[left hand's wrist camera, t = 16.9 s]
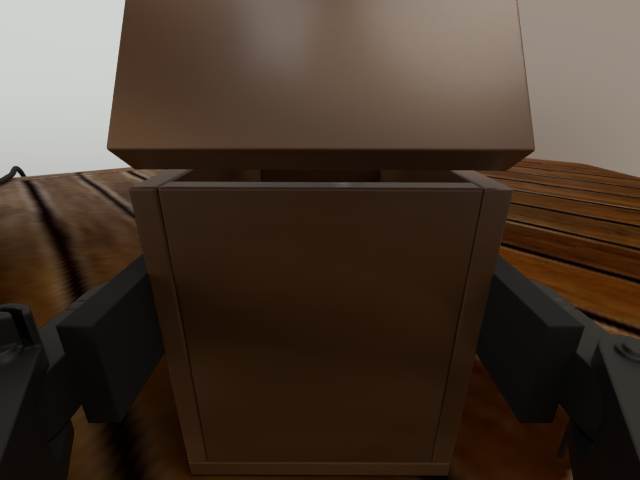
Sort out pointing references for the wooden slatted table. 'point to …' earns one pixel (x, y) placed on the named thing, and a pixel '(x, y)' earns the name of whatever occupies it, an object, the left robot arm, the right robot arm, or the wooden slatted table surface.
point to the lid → (321, 85)
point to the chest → (320, 312)
